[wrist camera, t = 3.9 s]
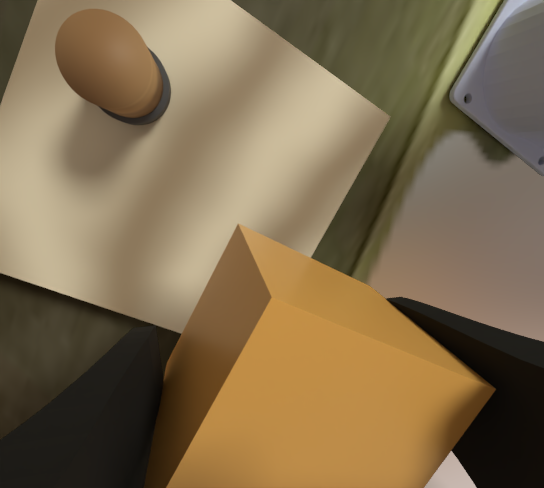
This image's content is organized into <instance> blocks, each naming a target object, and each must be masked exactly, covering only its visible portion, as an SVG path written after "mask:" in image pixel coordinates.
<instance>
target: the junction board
mask: <svg viewBox="0 0 544 488" xmlns="http://www.w3.org/2000/svg"><path fill="white" fill-rule="evenodd" d="M389 119H390V116H389V115H387V114H386V113H385V112H383V111H382V110H380V109H379V108H378V107H376V106H375V105H374V104H372V103H371V102H369V101H368V100H367V99H365V98H364V97H363V96H361V95H360V94H359V93H357V92H356V91H354V90H353V89H352V88H350V87H349V86H348V85H346V84H345V83H343V82H342V81H341V80H339V79H338V78H337V77H335V76H334V75H332V74H331V73H330V72H328V71H327V70H326V69H324V68H323V67H321V66H320V65H319V64H317V63H316V62H315V61H313V60H312V59H310V58H309V57H308V56H306V55H305V54H304V53H302V52H301V51H299V50H298V49H297V48H295V47H294V46H293V45H291V44H290V43H288V42H287V41H286V40H284V39H283V38H282V37H280V36H279V35H277V34H276V33H275V32H273V31H272V30H271V29H269V28H268V27H267V26H265V25H264V24H262V23H261V22H260V21H258V20H257V19H256V18H254V17H253V16H251V15H250V14H249V13H247V12H246V11H245V10H243V9H242V8H240V7H239V6H238V5H236V4H235V3H234V2H232V1H231V0H38V1H37V4H36V7H35V9H34V12H33V15H32V18H31V21H30V23H29V26H28V29H27V32H26V35H25V38H24V40H23V43H22V46H21V49H20V52H19V54H18V57H17V60H16V63H15V66H14V69H13V71H12V74H11V77H10V80H9V83H8V85H7V88H6V91H5V94H4V97H3V99H2V102H1V105H0V273H2V274H5V275H8V276H11V277H14V278H17V279H20V280H23V281H26V282H29V283H32V284H35V285H38V286H41V287H44V288H47V289H50V290H53V291H56V292H59V293H62V294H65V295H68V296H71V297H74V298H77V299H80V300H83V301H86V302H89V303H92V304H95V305H98V306H101V307H104V308H107V309H109V310H112V311H115V312H118V313H121V314H124V315H127V316H130V317H133V318H136V319H139V320H142V321H145V322H148V323H151V324H154V325H157V326H160V327H163V328H166V329H169V330H172V331H175V332H178V333H181V334H182V332H183V330H184V328H185V326H186V324H187V322H188V320H189V318H190V317H191V315H192V313H193V311H194V309H195V307H196V305H197V303H198V301H199V299H200V297H201V295H202V293H203V291H204V289H205V287H206V285H207V283H208V281H209V279H210V277H211V275H212V273H213V271H214V270H215V268H216V266H217V264H218V262H219V260H220V258H221V256H222V254H223V252H224V250H225V248H226V246H227V244H228V242H229V240H230V238H231V236H232V234H233V232H234V230H235V228H236V226H237V224H241V225H243V226H245V227H247V228H249V229H251V230H253V231H255V232H257V233H259V234H262V235H264V236H266V237H268V238H270V239H272V240H274V241H276V242H278V243H280V244H283V245H285V246H287V247H289V248H291V249H293V250H295V251H297V252H299V253H301V254H304V255H306V256H308V257H310V258H311V256H312V254H313V253H314V251H315V249H316V247H317V246H318V244H319V242H320V240H321V238H322V237H323V235H324V233H325V231H326V230H327V228H328V226H329V224H330V223H331V221H332V219H333V217H334V216H335V214H336V212H337V210H338V209H339V207H340V205H341V203H342V202H343V200H344V198H345V196H346V195H347V193H348V191H349V189H350V187H351V186H352V184H353V182H354V180H355V179H356V177H357V175H358V173H359V172H360V170H361V168H362V166H363V165H364V163H365V161H366V159H367V158H368V156H369V154H370V152H371V151H372V149H373V147H374V145H375V143H376V142H377V140H378V138H379V136H380V135H381V133H382V131H383V129H384V128H385V126H386V124H387V122H388V121H389Z"/></svg>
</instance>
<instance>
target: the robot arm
mask: <svg viewBox="0 0 544 488" xmlns="http://www.w3.org/2000/svg"><path fill="white" fill-rule="evenodd" d="M465 96H466V102H464V97H465ZM449 98H450V101H451V102H452V103H453V104H454V105H455V106H456V107H458V108H459V109H460V110H461V111H463V112H464V113H465V114H466V115H467V116H469V117H470V118H471V119H472V120H474V121H475V122H476V123H477V124H478V125H480V126H481V127H482V128H483V129H485V130H486V131H487V132H488V133H489V134H491V135H492V136H493V137H494V138H496V139H497V140H498V141H499V142H501V143H502V144H503V145H504V146H505V147H507V148H508V149H509V150H510V151H512V152H513V153H514V154H515V155H516V156H518V157H519V158H520V159H521V160H523V161H524V162H525V163H526V164H527V165H529V166H530V167H531V168H532V169H534V170H535V171H536V172H537V173H538V174H540V175H541V176H544V0H504V1H503V3H502V5H501V6H500V8H499V10H498V11H497V13H496V15H495V16H494V18H493V20H492V21H491V23H490V25H489V26H488V28H487V30H486V32H485V33H484V35H483V37H482V38H481V40H480V42H479V43H478V45H477V47H476V48H475V50H474V52H473V53H472V55H471V57H470V59H469V60H468V62H467V64H466V65H465V67H464V69H463V70H462V72H461V74H460V75H459V77H458V79H457V80H456V82H455V84H454V86H453V87H452V89H451V91H450V95H449ZM386 300H387V301H388V302H390V303H391V304H392V305H393V306H395V307H396V308H397V309H398V310H399V311H401V312H402V313H403V314H404V315H406V316H407V317H408V318H409V319H411V320H412V321H413V322H415V323H416V324H417V325H418V326H419V327H421V328H422V329H423V330H424V331H426V332H427V333H428V334H429V335H430V336H432V337H433V338H434V339H435V340H437V341H438V342H439V343H440V344H442V345H443V346H444V347H445V348H446V349H448V350H449V351H450V352H451V353H453V354H454V355H455V356H456V357H457V358H459V359H460V360H461V361H462V362H464V363H465V364H466V365H467V366H468V367H470V368H471V369H472V370H473V371H475V372H476V373H477V374H478V375H479V376H481V377H482V378H483V379H484V380H486V381H487V382H488V383H489V384H490V385H492V386H493V387H494V388H495V389H496V390H495V391H494V393H493V394H492V396H491V397H490V398H489V400H488V401H487V402H486V404H485V405H484V406H483V408H482V409H481V411H480V412H479V413H478V415H477V416H476V417H475V419H474V420H473V421H472V423H471V424H470V425H469V427H468V428H467V430H466V431H465V432H464V434H463V435H462V436H461V438H460V439H459V440H458V442H457V443H456V445H455V446H454V447H453V449H452V450H451V451H452V452H453V453H454V455H455V456H456V457H457V458H458V460H459V462H460V463H461V464H462V466H463V467H464V469H465V470H466V472H467V473H468V475H469V476H470V478H471V479H472V481H473V482H474V484H475V485H476V487H477V488H544V342H542V341H539V340H535V339H531V338H527V337H524V336H520V335H517V334H514V333H511V332H507V331H504V330H501V329H498V328H495V327H491V326H488V325H485V324H482V323H479V322H476V321H473V320H471V319H468V318H465V317H462V316H459V315H456V314H453V313H450V312H447V311H445V310H442V309H439V308H436V307H433V306H430V305H427V304H424V303H421V302H418V301H415V300H411V299H408V298H403V297H396V298H387V299H386ZM163 384H164V380H163V373H162V366H161V358H160V351H159V344H158V337H157V330H156V325H154V326H145V327H136V328H133V329H131V330H130V331H129V332H128V333H127V334H126V335H125V336H124V337H123V338H122V339H121V340H120V341H119V342H117V343H116V344H115V345H114V346H113V347H112V348H111V349H110V350H109V351H108V352H107V353H106V354H105V355H104V356H103V357H102V358H100V359H99V360H98V361H97V362H96V363H95V364H94V365H93V366H92V367H91V368H90V369H89V370H88V371H86V372H85V373H84V374H83V375H82V376H81V377H79V378H78V379H77V380H76V381H75V382H74V383H72V384H71V385H70V386H69V387H68V388H66V389H65V390H64V391H63V392H62V393H61V394H59V395H58V396H57V397H56V398H55V399H54V400H52V401H51V402H50V403H49V404H47V405H46V406H45V407H44V408H42V409H41V410H40V411H39V412H37V413H36V414H35V415H33V416H32V417H31V418H29V419H28V420H27V421H25V422H24V423H23V424H21V425H20V426H19V427H17V428H16V429H15V430H13V431H12V432H10V433H9V434H8V435H6V436H5V437H4V438H2V439H1V440H0V488H144V484H145V478H146V473H147V467H148V462H149V456H150V451H151V445H152V440H153V435H154V429H155V424H156V419H157V415H158V411H159V406H160V400H161V395H162V389H163Z"/></svg>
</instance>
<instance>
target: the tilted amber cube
mask: <svg viewBox="0 0 544 488" xmlns="http://www.w3.org/2000/svg"><path fill="white" fill-rule="evenodd" d="M495 390H496V389H495V388H494V387H493V386H492V385H490V384H489V383H488V382H487V381H486V380H484V379H483V378H482V377H481V376H479V375H478V374H477V373H476V372H475V371H473V370H472V369H471V368H470V367H468V366H467V365H466V364H465V363H464V362H462V361H461V360H460V359H459V358H457V357H456V356H455V355H454V354H453V353H451V352H450V351H449V350H448V349H446V348H445V347H444V346H443V345H442V344H440V343H439V342H438V341H437V340H435V339H434V338H433V337H432V336H430V335H429V334H428V333H427V332H426V331H424V330H423V329H422V328H421V327H419V326H418V325H417V324H416V323H415V322H413V321H412V320H411V319H409V318H408V317H407V316H406V315H404V314H403V313H402V312H401V311H399V310H398V309H397V308H396V307H395V306H393V305H392V304H391V303H390V302H388V301H387V300H386V299H385V298H384V297H383V296H381V295H380V294H379V293H378V292H377V291H375V290H374V289H373V288H372V287H370V286H369V285H366V284H364V283H362V282H360V281H358V280H356V279H354V278H352V277H350V276H348V275H345V274H343V273H341V272H339V271H337V270H335V269H333V268H331V267H329V266H327V265H324V264H322V263H320V262H318V261H316V260H314V259H312V258H310V257H308V256H306V255H304V254H301V253H299V252H297V251H295V250H293V249H291V248H289V247H287V246H285V245H283V244H280V243H278V242H276V241H274V240H272V239H270V238H268V237H266V236H264V235H262V234H259V233H257V232H255V231H253V230H251V229H249V228H247V227H245V226H243V225H241V224H237V226H236V228H235V230H234V232H233V234H232V236H231V238H230V240H229V242H228V244H227V246H226V248H225V250H224V252H223V254H222V256H221V258H220V260H219V262H218V264H217V266H216V268H215V270H214V271H213V273H212V275H211V277H210V279H209V281H208V283H207V285H206V287H205V289H204V291H203V293H202V295H201V297H200V299H199V301H198V303H197V305H196V307H195V309H194V311H193V313H192V315H191V317H190V318H189V320H188V322H187V324H186V326H185V328H184V330H183V332H182V334H181V336H180V338H179V340H178V342H177V344H176V346H175V348H174V350H173V352H172V354H171V356H170V358H169V360H168V362H167V364H166V369H165V375H164V384H163V389H162V395H161V400H160V406H159V411H158V415H157V419H156V424H155V429H154V435H153V440H152V445H151V451H150V456H149V462H148V467H147V473H146V478H145V484H144V488H424V487H425V485H426V484H427V483H428V481H429V480H430V479H431V477H432V476H433V474H434V473H435V472H436V470H437V469H438V467H439V466H440V465H441V463H442V462H443V461H444V460H445V458H446V457H447V455H448V454H449V453H450V451H451V450H452V449H453V447H454V446H455V445H456V443H457V442H458V440H459V439H460V438H461V436H462V435H463V434H464V432H465V431H466V430H467V428H468V427H469V425H470V424H471V423H472V421H473V420H474V419H475V417H476V416H477V415H478V413H479V412H480V411H481V409H482V408H483V406H484V405H485V404H486V402H487V401H488V400H489V398H490V397H491V396H492V394H493V393H494V391H495Z"/></svg>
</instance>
